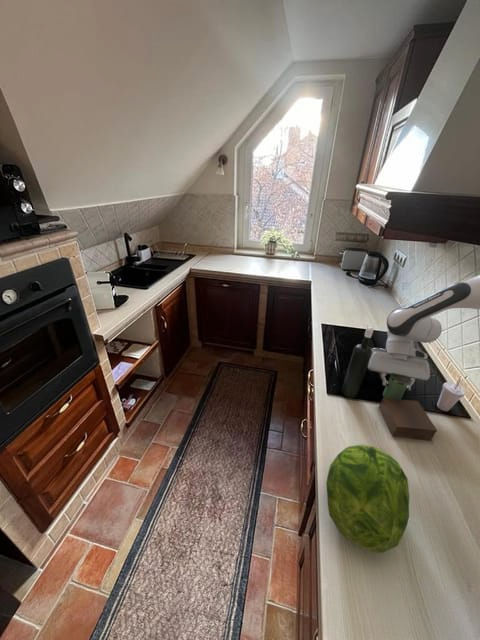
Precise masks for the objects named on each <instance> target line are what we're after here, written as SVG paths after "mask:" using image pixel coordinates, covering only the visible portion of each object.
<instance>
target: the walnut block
mask: <svg viewBox="0 0 480 640" xmlns="http://www.w3.org/2000/svg"><path fill="white" fill-rule="evenodd" d="M378 409H379V411H380V414H381V417H383V420H384V422H385V424H386V427H387V428H388V431H389V433H390V435H391V437H394V438H402V439H412V440H423V441H432V439H433V438H434V437H435V435H436V433H437V432H438V429H437V428H436V426H435V425H434V423H433V422H432V420H431V419H430V417H429V415H428V414H427V412H426V411H425V409H424V407H422V404H421V403H420V402H419V400H414V399H413V400H412V399H402V398H401V399H391V398H384V397H382V398H381V401H380V403H379V405H378Z"/></svg>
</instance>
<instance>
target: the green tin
mask: <svg viewBox="0 0 480 640" xmlns="http://www.w3.org/2000/svg"><path fill="white" fill-rule="evenodd" d="M387 381H389V383H388V384H389V385H388V386H384V390H383V392H382V396H383V398H391V399H402V398H403V396H404V394H405V391H407V390H406V388H407V386H408V384H409V382H410V379H409V377H408V376H405V375H400V374H394V373H391V375H390V374H389V378H388V380H387Z"/></svg>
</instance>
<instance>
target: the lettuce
mask: <svg viewBox="0 0 480 640" xmlns="http://www.w3.org/2000/svg"><path fill="white" fill-rule="evenodd" d="M325 482H326V499H327V508H328V514H329V517H330V519H331V521H332V522H333V524H334V526H335V527H336V528H337V529H338V531H339V532H340V533H341V534H342V535H343V536H344V537H345V538H347V539H348V541H350V543H351V542H352V543H353V544H355V545H356V546H358V547H360V548H362V549H364V550H367V551H369V552H373V553H385V552H387V551H389V550H392V549H393V548H395V547H398V545H399V543H400V541H401V539H402V537H403V535H404V533H405V531H406V529H407V526H408V522H409V518H410V490H409V489H410V487H409V481H408V477H407V475H406V474H405V472H404V470H403V468H402V467H401V465H400V463H399V461H397V460H396V459H395V458H394V457H393V456H391V455H390V454H389V453H388V452H386V451H384V450H382V449H380V448H378V447H375V446H371V445H367V444H355V445H350V446H347V447H345V448H344V449H343V450H342V451H340V452H339V454H337V455H336V457H335V458H334V459H333V461H332V462H331V463H330V465H329V468H328V472H327V477H326V481H325Z"/></svg>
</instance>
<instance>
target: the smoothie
mask: <svg viewBox="0 0 480 640" xmlns="http://www.w3.org/2000/svg"><path fill="white" fill-rule="evenodd" d="M461 382H462V379H460V378H459V379H458V381H457V382H456V383H454V382H452V381H446V382H443V384H442V386H441V388H442V389H441V392H440V395H439V397H438V399H437V403H436V407H437V408H438V409H439V410H440V411H443V412H449V411H450V410H451V409H452V408H453V407H454V406H455V405H456V404H457V402H458V401H459V400H461V398H463V397H464V396H465V395H466V393H467V392H466V390H465V388H464V387H462V386H461V385H460V384H461Z"/></svg>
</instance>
